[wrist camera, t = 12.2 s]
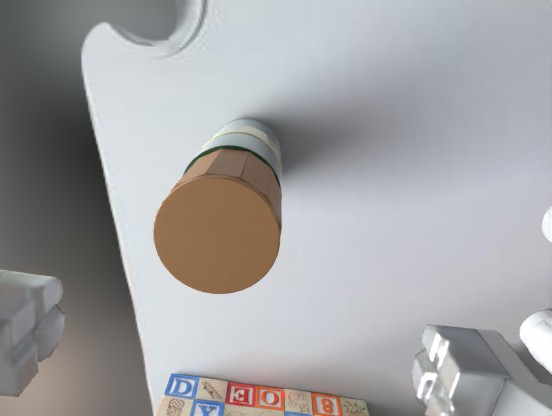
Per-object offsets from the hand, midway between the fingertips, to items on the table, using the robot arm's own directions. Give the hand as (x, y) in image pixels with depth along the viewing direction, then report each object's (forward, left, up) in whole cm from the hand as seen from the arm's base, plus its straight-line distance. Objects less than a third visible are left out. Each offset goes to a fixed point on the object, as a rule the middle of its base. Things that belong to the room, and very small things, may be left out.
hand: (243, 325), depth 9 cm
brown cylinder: (+2, -2, -15) cm, 15 cm away
